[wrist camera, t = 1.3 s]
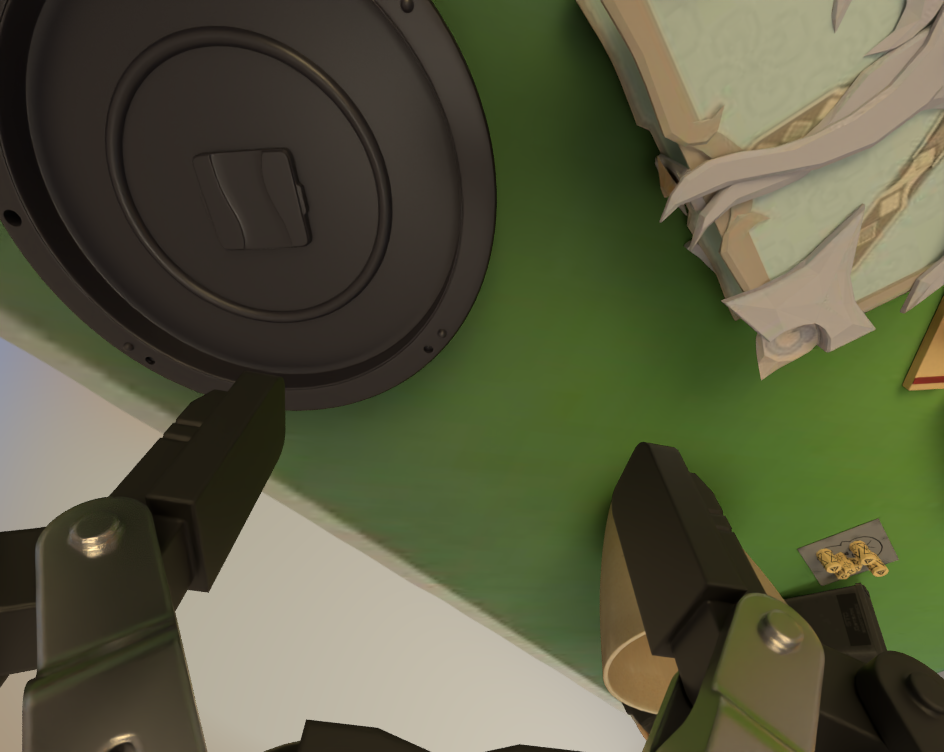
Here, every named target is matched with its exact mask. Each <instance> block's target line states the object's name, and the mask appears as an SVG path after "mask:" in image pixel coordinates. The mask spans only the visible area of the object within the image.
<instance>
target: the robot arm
mask: <svg viewBox="0 0 944 752" xmlns="http://www.w3.org/2000/svg"><path fill="white" fill-rule="evenodd" d="M284 440H285V382H284V379H283V377H280V376H275V375H269V374H263V373H258V372H252V371H244V372H243V373H242V374H241V375H240V376H239V378H238V379H237V380H236V381H235V383H234V384H233V385H232V387H231V388H230V389H229V390H228V391H222V390H216V389H214V390H212V391H210V392H209V393H207V394H205V395H203V396H201V397H200V398H198V399H196V400H194V401H192V402H191V403H190V404H189V405H188V406H187V408H186V409H185V410H184V411H183V412H182V413H181V414H180V416H179V417H178V418H177V419H176V423H173V424H172V425H171V426H170V427H169V428H168V429H167V430H166V432H165V433H164V435H163V438H160V439H159V440H158V441H157V442H156V443H155V444H154V445H153V447H152V448H151V449H150V450H149V451H148V452H147V453H146V455H145V456H144V457H143V458H142V459H141V460H140V461H139V463H138V464H137V465H136V466H135V467H134V468H133V470H132V471H131V472H130V473H129V474H128V475H127V476H126V477H125V479H124V480H123V481H122V482H121V483H120V484H119V485H118V487H117V488H116V489H115V490H114V491H113V492H112V493H111V494H110V496H108V497H104V498H98V499H94V500H90V501H87V502H84V503H81V504H79V505H77V506H74V507H73V508H71V509H69V510H67V511H65V512H64V513H62V514H61V515H59V516H58V517H56V518H55V519H54V520H53V521H52V522H50V523H49V524H48V525H47V527H41V528H34V529H24V530H15V531H5V532H0V687H1V686H2V684H3V683H4V681H5V680H6V679H7V677H8V676H9V674H14V673H19V672H25V671H30V670H35V669H37V675H36V677H35V678H34V679H31V680H29V681H28V682H27V684H26V687H25V690H24V696H23V711H22V713H23V714H22V716H23V717H22V723H23V724H22V725H23V726H22V736H23V737H22V752H207V748H206V743H205V739H204V735H203V731H202V727H201V722H200V718H199V713H198V709H197V705H196V700H195V696H194V692H193V688H192V683H191V679H190V674H189V670H188V666H187V662H186V657H185V653H184V648H183V644H182V639H181V635H180V631H179V627H178V622H177V618H176V613H175V611H176V609H177V607H178V606H179V604H180V602H181V600H182V599H183V597H184V595H185V593H186V592H187V590H194V591H201V592H208V593H209V591H210V589H211V587H212V585H213V583H214V581H215V579H216V577H217V575H218V574H219V572H220V570H221V568H222V566H223V564H224V562H225V560H226V558H227V556H228V554H229V553H230V551H231V549H232V547H233V545H234V543H235V541H236V539H237V537H238V535H239V534H240V532H241V530H242V528H243V526H244V524H245V522H246V520H247V518H248V517H249V515H250V513H251V511H252V509H253V507H254V505H255V503H256V501H257V499H258V498H259V496H260V494H261V492H262V490H263V488H264V486H265V484H266V482H267V480H268V479H269V477H270V475H271V473H272V471H273V469H274V467H275V465H276V463H277V461H278V459H279V457H280V455H281V452H282V448H283V445H284ZM612 515H613V519H614V522H615V526H616V529H617V533H618V536H619V540H620V544H621V547H622V551H623V554H624V558H625V561H626V565H627V569H628V572H629V576H630V579H631V583H632V586H633V590H634V594H635V597H636V601H637V604H638V608H639V611H640V615H641V619H642V622H643V626H644V629H645V633H646V636H647V640H648V644H649V647H650V651H651V654H652V655H654V656H661V657H668V658H675V661H676V664H677V667H678V671H677V672H676V673H675V675H674V676H673V677H672V679H671V682H670V684H669V686H668V689H667V691H666V694H665V696H664V699H663V701H662V704H661V706H660V709H659V711H658V714H657V716H656V719H655V721H654V724H653V726H652V729H651V731H650V734H649V736H648V739H647V741H646V744H645V746H644V748H643V751H642V752H944V679H943V678H942V677H940V676H939V675H938V674H937V673H936V672H935V671H933V670H932V669H930V668H929V667H928V666H926V665H925V664H923V663H922V662H920V661H918V660H916V659H915V658H913V657H911V656H908V655H906V654H904V653H900V652H897V651H884V652H881V653H880V654H878V655H877V656H876V657H874V658H873V659H872V660H871V661H869V662H868V663H864V662H862V661H860V660H858V659H855V658H853V657H851V656H849V655H846V654H844V653H842V652H839V651H837V650H835V649H833V648H830V647H828V646H826V645H824V644H821V642H820V640H819V638H818V636H817V635H816V633H815V632H814V630H813V629H812V627H811V626H810V625H809V624H808V623H807V622H806V620H805V619H804V618H803V617H802V616H801V615H800V614H798V613H797V612H796V611H795V610H794V609H792V608H791V607H790V606H788V605H787V604H785V603H784V602H782V601H780V600H778V599H776V598H774V597H772V596H769V595H767V594H766V592H765V590H764V588H763V586H762V584H761V582H760V581H759V579H758V577H757V575H756V573H755V571H754V569H753V567H752V565H751V564H750V562H749V560H748V558H747V556H746V554H745V552H744V550H743V548H742V547H741V545H740V543H739V541H738V539H737V537H736V535H735V533H734V532H731V529H732V528H731V526H730V524H729V522H728V520H727V518H726V516H723V511H722V509H721V507H720V505H719V503H718V501H717V499H716V497H715V496H714V494H713V492H712V491H711V490H710V489H709V488H708V487H707V486H706V485H705V483H704V482H703V481H702V480H701V479H700V478H699V477H698V476H697V475H696V474H695V473H689V471H688V469H687V467H686V465H685V463H684V461H683V459H682V457H681V455H680V453H679V451H678V450H677V449H676V448H674V447H669V446H663V445H658V444H652V443H646V442H641V443H639V444H638V445H637V446H636V448H635V450H634V452H633V454H632V455H631V457H630V459H629V461H628V463H627V465H626V467H625V469H624V471H623V473H622V475H621V477H620V479H619V481H618V483H617V485H616V487H615V489H614V492H613V496H612ZM264 752H430V751H428V750H426V749H423V748H421V747H419V746H417V745H415V744H412V743H410V742H408V741H406V740H403V739H401V738H399V737H397V736H394V735H392V734H390V733H388V732H386V731H383V730H381V729H379V728H374V727H366V726H357V725H349V724H340V723H331V722H322V721H314V720H306V722H305V726H304V730H303V733H302V737H301V741H297V742H292V743H288V744H284V745H281V746H278V747H275V748H273V749H269V750H266V751H264ZM487 752H580V751H571V750H563V749H555V748H546V747H538V746H529V745H520V744H519V745H515V746H510V747H505V748H501V749H496V750H491V751H487Z"/></svg>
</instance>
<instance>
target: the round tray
mask: <svg viewBox="0 0 944 752" xmlns="http://www.w3.org/2000/svg"><path fill="white" fill-rule="evenodd" d="M496 209H497V186H496V172H495V162H494V155H493V149H492V143H491V138H490V133H489V128H488V124H487V120H486V117H485V113H484V109H483V106H482V103H481V100H480V97H479V94H478V91H477V88H476V85H475V83H474V80H473V78H472V75H471V73H470V70H469V68H468V65H467V63H466V61H465V59H464V57H463V55H462V53H461V50H460V48H459V46H458V44H457V43H456V41H455V39H454V37H453V35H452V33H451V31H450V30H449V28H448V26H447V25H446V23H445V21H444V19H443V18H442V16H441V14H440V13H439V11H438V10H437V8H436V7H435V5H434V4H433V2H432V1H431V0H0V220H1V222H2V223H3V225H4V226H5V228H6V230H7V231H8V233H9V235H10V236H11V238H12V239H13V241H14V242H15V244H16V245H17V247H18V248H19V250H20V251H21V252H22V254H23V255H24V257H25V258H26V259H27V261H28V262H29V263H30V265H31V266H32V267H33V269H34V270H35V271H36V272H37V273H38V275H39V276H40V277H41V278H42V280H43V281H44V282H45V283H46V284H47V285H48V286H49V288H50V289H51V290H52V291H53V292H54V293H55V294H56V295H57V296H58V297H59V298H60V300H61V301H62V302H63V303H64V304H65V305H66V306H67V307H68V308H69V309H70V310H71V311H72V312H74V313H75V314H76V315H77V316H78V317H79V318H80V319H81V320H82V321H83V322H84V323H86V324H87V325H88V326H89V327H90V328H91V329H93V330H94V331H95V332H96V333H97V334H99V335H100V336H101V337H102V338H104V339H105V340H106V341H108V342H109V343H110V344H112V345H113V346H114V347H116V348H117V349H119V350H120V351H121V352H123V353H124V354H126V355H127V356H129V357H130V358H132V359H133V360H135V361H137V362H138V363H140V364H142V365H143V366H145V367H147V368H148V369H150V370H152V371H154V372H156V373H157V374H159V375H161V376H163V377H165V378H167V379H169V380H171V381H173V382H176V383H178V384H180V385H182V386H185V387H187V388H189V389H192V390H194V391H197V392H200V393H202V394H207V393H209V392H210V391H212V390H214V389H216V390H222V391H228V390H229V389H230V388H231V387H232V385H233V384H234V383H235V381H236V380H237V379H238V378H239V376H240V375H241V374H242V373H243V372H244V371H252V372H258V373H263V374H269V375H275V376H280V377H283V379H284V382H285V410H291V411H301V410H318V409H327V408H334V407H339V406H344V405H348V404H352V403H356V402H359V401H362V400H365V399H368V398H371V397H374V396H376V395H378V394H381V393H383V392H385V391H387V390H389V389H391V388H393V387H395V386H397V385H399V384H400V383H402V382H404V381H405V380H407V379H409V378H410V377H412V376H413V375H414V374H416V373H417V372H418V371H420V370H421V369H422V368H424V367H425V366H426V365H427V364H428V363H429V362H431V361H432V360H433V359H434V358H435V357H436V356H437V355H438V354H439V353H440V352H441V351H442V350H443V349H444V348H445V346H446V345H447V344H448V343H449V342H450V340H451V339H452V338H453V337H454V335H455V334H456V333H457V331H458V330H459V328H460V327H461V325H462V324H463V322H464V321H465V319H466V317H467V316H468V314H469V312H470V310H471V308H472V306H473V304H474V302H475V300H476V298H477V296H478V293H479V291H480V289H481V286H482V283H483V281H484V277H485V274H486V271H487V268H488V264H489V260H490V256H491V251H492V246H493V240H494V233H495V224H496Z"/></svg>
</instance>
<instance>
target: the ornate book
mask: <svg viewBox="0 0 944 752" xmlns="http://www.w3.org/2000/svg"><path fill="white" fill-rule="evenodd" d="M575 1H576V2H577V4H578V5H579V7H580V9H581V10H582V12H583V14H584V15H585V17H586V19H587V20H588V22H589V23H590V25H591V27H592V28H593V30H594V32H595V33H596V35H597V36H598V38H599V40H600V41H601V43H602V45H603V47H604V49H605V50H606V52H607V54H608V56H609V58H610V60H611V62H612V64H613V66H614V68H615V71H616V73H617V75H618V77H619V80H620V82H621V85H622V87H623V90H624V93H625V95H626V98H627V101H628V103H629V106H630V108H631V111H632V114H633V116H634V119H635V122H636V124H637V125H638V126H640V127H642V128H644V129H646V130H649V131H650V132H651V134H652V136H653V138H654V140H655V142H656V145H657V147H658V149H659V151H660V154H659V156H657V159H656V157H655V161H656V162H655V165H656V167H657V169H658V171H659V178H660V187H661V191H662V193H663V195H664V197H665V198H666V197H667V196H669V198H668V201H667V203H666V206H665V208H664V211H663V214H662V216H661V219H660V221H659V222H662V221H663V220H665V219H666V218H667V217H668V216H669V215H670V214H671V213H672V212H673V211H674V210H675V209H676V208H677V207H679V208H680V209H681V210H682V212H683V213H684V214H685V215H687V213H686V209H685V206H684V204H686V206H687V208H688V210H689V212H688V220H687V227H688V228H689V230H690V231H691V233H692V234H693V237H692V240H691V241H688V242H687V243H686V244H685V245H683V246H684V247H685V248H686V249H688V250H689V251H691V252H692V253H693V254H695V255H696V256H698V257H699V258H700V259H701V260H702V261H703V262H704V263H705V264H706V265H707V266H708V267H709V268H710V269H711V270H712V271H713V272H715V274H716V276H717V278H718V280H719V283H720V286H721V289H722V292H723V294H724V297H725V299H724V300H721V301H722V302H723V303H724V304H725V305H726V306H727V307H728V308H729V311H730V313H731V315H732V317H733V319H734V320H735V321H736V320H738V319H740V318H741V319H742V320H744V321H745V322H746V323H747V324H748V325H749V326H750V327H752V328H753V329H754V330H755V331H756V332H757V336H756V353H757V359H758V365H759V371H760V376H761V380H762V379H764V378H765V377H767V376H768V375H770V374H771V373H772V372H774V371H775V370H777V369H778V368H780V367H782V366H784V365H786V364H788V363H790V362H792V361H794V360H795V359H797V358H799V357H801V356H802V355H804V354H806V353H807V352H809V351H811V350H812V349H813V348H814V347H815V346H816V344H817V345H818V346H819V347H820V348H822V349H823V350H824V351H826V352H830V351H832V350H834V349H836V348H838V347H841V346H843V345H845V344H847V343H849V342H851V341H853V340H855V339H857V338H859V337H861V336H863V335H865V334H867V333H869V332H871V331H873V330H875V329H876V328H875V327H874V326H873V324H872V323H871V322H870V320H869V319H868V318H867V317H866V315H865V314H864V313H865V312H867V311H870V310H872V309H874V308H876V307H878V306H880V305H882V304H884V303H886V302H888V301H890V300H892V299H894V298H896V297H898V296H900V295H903V294H905V293H907V292H909V291H910V293H909V295H908V296H907V298H906V300H905V302H904V304H903V306H902V308H901V310H900V312H901V313H906V312H907V311H909V310H910V309H912V308H913V307H914V306H916V305H917V304H918V303H920V302H921V301H922V300H924V299H925V298H926V297H928V296H929V295H930V294H932V293H933V292H934V291H936V290H937V289H939V288H940V287H941V286H943V285H944V0H575Z"/></svg>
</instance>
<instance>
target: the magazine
mask: <svg viewBox="0 0 944 752" xmlns="http://www.w3.org/2000/svg"><path fill="white" fill-rule="evenodd" d="M784 601H785V602H786V603H787V605H788V606H790V607H791V608H792V609H794V610H795V611H796V612H797V613H798V614H800V615H801V616H802V617H803V618H804V619H805V620H806V622H807V623H808V624H809V625H810V626H811V627H812V629H813V630H814V632H815V633H816V635H817V636H818V638H819V640H820V642H821V644H824V645H826V646H828V647H830V648H833V649H835V650H837V651H839V652H842V653H844V654H846V655H849V656H851V657H853V658H855V659H858V660H860V661H862V662H864V663H868V662H869V661H871V660H872V659H873V658H874V657H876V656H877V655H878V654H880V653H881V652H884V651H887V649H886V646H885V643H884V639H883V636H882V633H881V630H880V627H879V624H878V621H877V618H876V615H875V612H874V608H873V605H872V602H871V599H870V595H869V592H868V591H867V589H866V587H865V586H864V585H862V584H861V583H855V585H854V586H849V587H844V588H838V589H833V590H828V591H823V592H818V593H813V594H808V595H802V596H797V597H792V598H787V599H784ZM622 704H623V706H624V708H625V710H626V712H627V714H628V715H631V717H632V719H633V720H634V721H635V723H636V725H637V727H638V728H639V730H640V732H641V733H642V735H643V737H644V738H645V739H646V741H647V739H648V736H649V734H650V731H651V729H652V726H653V724H654V721H655V719H656V716H657V714H653V713H649V712H645V711H641V710H638V709H636V708H634V707H631V706H629V705H626V704H624V703H623V702H622Z"/></svg>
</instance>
